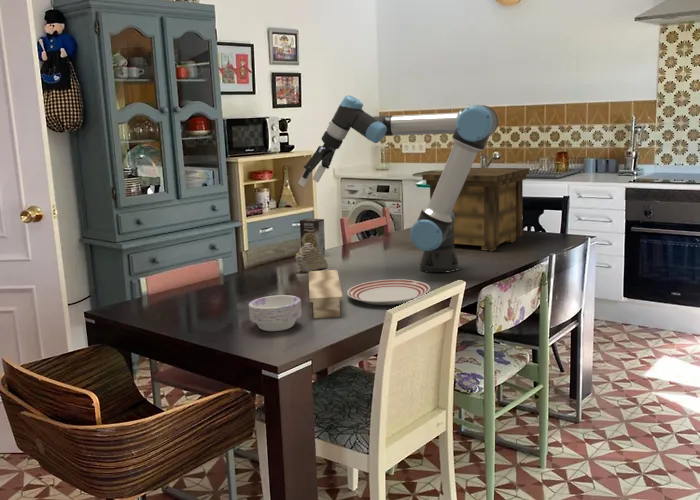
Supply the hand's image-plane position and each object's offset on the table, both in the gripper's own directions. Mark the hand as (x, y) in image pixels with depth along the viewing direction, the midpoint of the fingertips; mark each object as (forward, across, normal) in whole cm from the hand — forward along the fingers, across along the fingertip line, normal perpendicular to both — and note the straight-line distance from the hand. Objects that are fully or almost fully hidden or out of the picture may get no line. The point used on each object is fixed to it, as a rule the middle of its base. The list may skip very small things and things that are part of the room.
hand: (308, 182), depth 265 cm
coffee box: (+36, -28, +10) cm, 47 cm away
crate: (0, -64, +64) cm, 91 cm away
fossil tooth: (+30, -2, +18) cm, 35 cm away
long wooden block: (+17, +40, +37) cm, 57 cm away
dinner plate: (+6, +32, +53) cm, 62 cm away
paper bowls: (+19, +69, +33) cm, 79 cm away
